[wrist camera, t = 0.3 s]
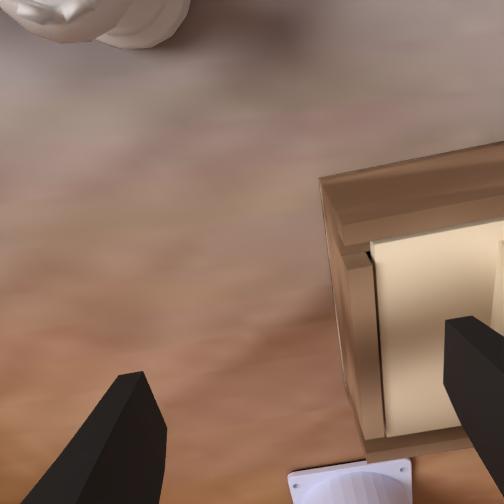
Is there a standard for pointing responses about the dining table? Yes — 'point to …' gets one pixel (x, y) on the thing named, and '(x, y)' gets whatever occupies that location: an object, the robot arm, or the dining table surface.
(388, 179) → the box
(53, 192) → the dining table surface
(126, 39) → the rook chess piece
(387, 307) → the lid
